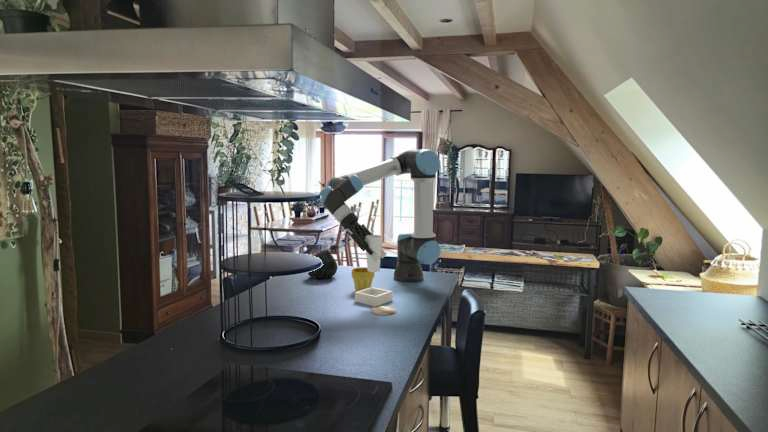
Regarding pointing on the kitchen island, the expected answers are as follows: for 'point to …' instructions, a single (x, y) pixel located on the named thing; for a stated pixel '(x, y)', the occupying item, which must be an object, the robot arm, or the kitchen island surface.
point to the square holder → (373, 296)
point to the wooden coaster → (383, 310)
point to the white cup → (376, 244)
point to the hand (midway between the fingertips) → (381, 257)
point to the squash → (325, 266)
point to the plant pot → (362, 278)
